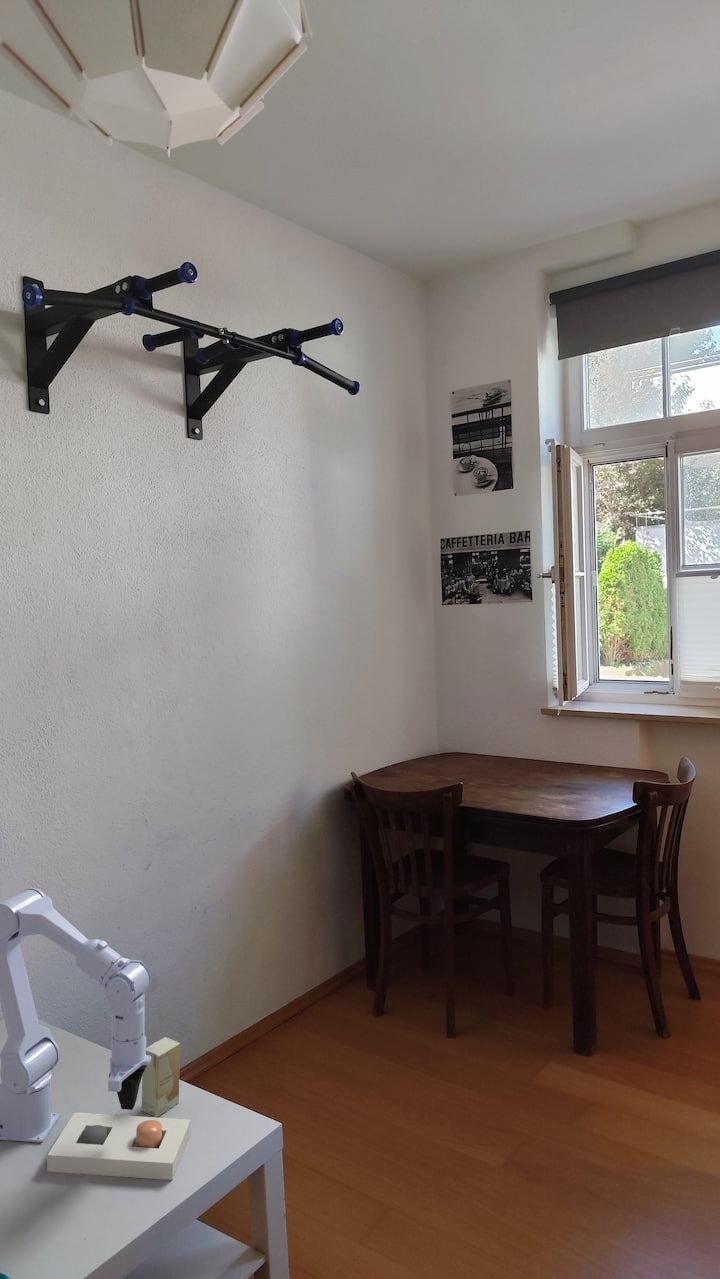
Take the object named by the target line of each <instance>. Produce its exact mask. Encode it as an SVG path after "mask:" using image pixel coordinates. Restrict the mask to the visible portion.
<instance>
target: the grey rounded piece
mask: <svg viewBox="0 0 720 1279" xmlns="http://www.w3.org/2000/svg"><path fill="white" fill-rule="evenodd" d="M106 1138H107V1129H106V1128H105V1127H104V1126H101V1125H94V1126H90V1127H88V1128H86V1129H85V1130H84V1131H83V1132H82V1134H81V1144H96V1145H103V1144H104V1142H105V1140H106Z"/></svg>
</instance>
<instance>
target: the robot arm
mask: <svg viewBox="0 0 720 1279" xmlns="http://www.w3.org/2000/svg"><path fill="white" fill-rule="evenodd" d="M32 935H42V936H44V937H45V938H47V939H48V940H50V941H51V942H53V943H54V944H56V945H57V946H59V947H60V948H62V949H64V950H65V951H67V952H68V953H70V954H71V955H73V956H74V957H75V962H76V963H75V964H76V968H78V969H79V970H81V971H82V972H83V973H85V974H86V975H87V976H88V977H90V978H91V979H92V980H93V981H95V982H96V983H97V984H98V985H100V986H101V987H102V988H103V991H104V992H103V993H104V996H105V998H106V1000H107V1001H108V1004H109V1011H110V1012H111V1016H110V1018H111V1021H110V1022H111V1030H110V1032H111V1040H110V1041H111V1044H110V1045H111V1048H110V1049H111V1052H110V1053H111V1054H110V1055H111V1057H110V1061H109V1062H110V1063H109V1064H110V1066H109V1067H110V1069H109V1073H108V1080H107V1082H108V1083H107V1088H108V1089H107V1090H108V1092H113V1093H115V1092H116V1094H117V1097H118V1098H117V1099H118V1102H119V1104H120V1109H121V1110H125V1111H126V1110H127V1111H128V1110H129V1111H130V1110H131V1111H132V1110H134V1108H135V1106H136V1103H137V1099H138V1094H139V1090H140V1089H139V1088H140V1084H141V1082H142V1081H141V1080H142V1075H143V1073H144V1071H145V1068H146V1067H147V1065H148V1064H149V1063H150V1061H151V1056H150V1055H146V1051H145V1048H147V1036H146V1034H145V1033H146V1032H145V1030H146V1028H145V1027H146V1026H145V1025H146V1022H145V1021H146V1020H145V1014H146V1012H145V1011H146V1010H145V1008H146V1006H145V1005H146V1002H145V1000H146V996H145V995H146V994H145V992H146V991H147V989H148V988H149V987H150V985H151V982H152V976H151V972H150V970H149V968H148V967H147V965H145V963H144V962H143V961H141V960H139V959H130V958H128V957H127V958H125V957H123V956H122V955H121V954H119V953H118V952H117V951H115V950H114V949H112V948H111V946H108V945H109V944H108V943H107V942H106V941H105V940H101V939H99V938H95V939H88V938H87V937H86V936H85V935H84V934H83V933H81V932H80V931H79V930H78V929H77V928H76V927H75V926H74V925H73V924H72V923H70V921H68V920H67V919H66V918H65V917H64V916H63V915H61V914H60V913H59V912H58V910H56V909H55V908H54V905H53V901H52V898H50V897H49V896H48V895H46V894H45V893H43V891H42V890H40V889H39V888H37V887H29V888H27V889H24V890H23V891H21V892H20V893H18V894H16V895H14V896H11V897H10V898H7V899H6V900H4V901H1V902H0V1006H1V1007H0V1008H1V1010H2V1014H3V1015H2V1016H3V1019H4V1023H5V1028H6V1032H7V1039H6V1041H5V1043H4V1045H3V1047H2V1050H1V1051H0V1061H1V1065H0V1066H1V1067H0V1079H1V1082H0V1140H2V1141H11V1142H12V1141H16V1142H31V1143H42V1142H44V1140H45V1139H46V1137H47V1136H48V1134H49V1133H50V1131H51V1130H52V1129H53V1127H54V1125H55V1124H56V1122H57V1121H58V1119H59V1118H60V1113H57V1112H52V1076H53V1074H54V1067H55V1066H56V1065H57V1064H58V1063H59V1061H60V1057H61V1052H60V1048H59V1045H58V1044H57V1042H56V1041H55V1040H54V1036H53V1035H52V1032H51V1029H50V1028H49V1027H46V1026H43V1025H41V1024H40V1022H39V1019H38V1018H39V1017H38V1013H37V1009H36V1007H35V1006H36V1005H35V1001H34V997H33V994H32V993H33V992H32V989H31V984H30V981H29V977H28V972H27V971H28V970H27V968H26V963H25V959H24V956H23V952H22V947H21V943H22V941H23V940H24V938H26V937H27V936H32Z"/></svg>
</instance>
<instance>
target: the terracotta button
mask: <svg viewBox="0 0 720 1279" xmlns="http://www.w3.org/2000/svg"><path fill="white" fill-rule="evenodd" d="M161 1142H162V1125H161V1123H160V1122H158V1121H156V1120H147V1121H144V1122H142V1123H140V1124H139V1125H138V1126H137V1129H136V1147H142V1148H157V1149H159V1147H160V1145H161Z"/></svg>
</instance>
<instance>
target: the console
mask: <svg viewBox="0 0 720 1279" xmlns="http://www.w3.org/2000/svg"><path fill="white" fill-rule="evenodd" d="M147 1120H156V1121H158V1122H160V1123H161V1125H162V1142H161V1145H160V1147H159V1148H158V1149H157V1148H142V1147H136V1129H137V1126H138V1125H139V1124H140V1123H142V1122H144V1121H147ZM94 1125H101V1126H104V1127H105V1128H106V1129H107V1138H106V1140H105V1142H104V1144H103V1145H96V1144H81V1134H82V1132H83V1131H84V1130H85V1129H86V1128H88V1127H90V1126H94ZM191 1126H192V1120H191V1119H187V1118H186V1119H185V1118H183V1119H182V1118H172V1117H171V1118H168V1117H155V1116H138V1115H122V1114H121V1115H120V1114H106V1113H105V1114H104V1113H91V1112H79V1111H78V1112H76V1111H75V1112H74V1113H72V1116H71V1117H70V1119H69V1121H68V1122H67V1123H66V1125H65V1127H64V1129H63V1130H62V1132H61V1133H60V1134H59V1136H58V1138H57V1139H56V1141H55V1143H54V1144H53V1145H52V1147H51V1149H50V1150H49V1152H48V1153H47V1155H46V1156H47V1159H46V1161H47V1162H46V1163H47V1165H46V1166H47V1169H46V1170H47V1172H48V1173H61V1174H62V1173H64V1174H77V1175H78V1174H79V1175H91V1176H108V1177H121V1178H123V1177H124V1178H136V1179H137V1178H139V1179H151V1180H153V1179H154V1180H163V1181H164V1180H165V1181H166V1180H167V1181H173V1180H174V1177H175V1175H176V1173H177V1170H178V1167H179V1165H180V1162H181V1161H182V1157H183V1156H184V1152H185V1150H186V1147H187V1145H188V1142H189V1141H190V1138H191V1133H192V1132H191V1131H192V1127H191Z"/></svg>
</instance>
